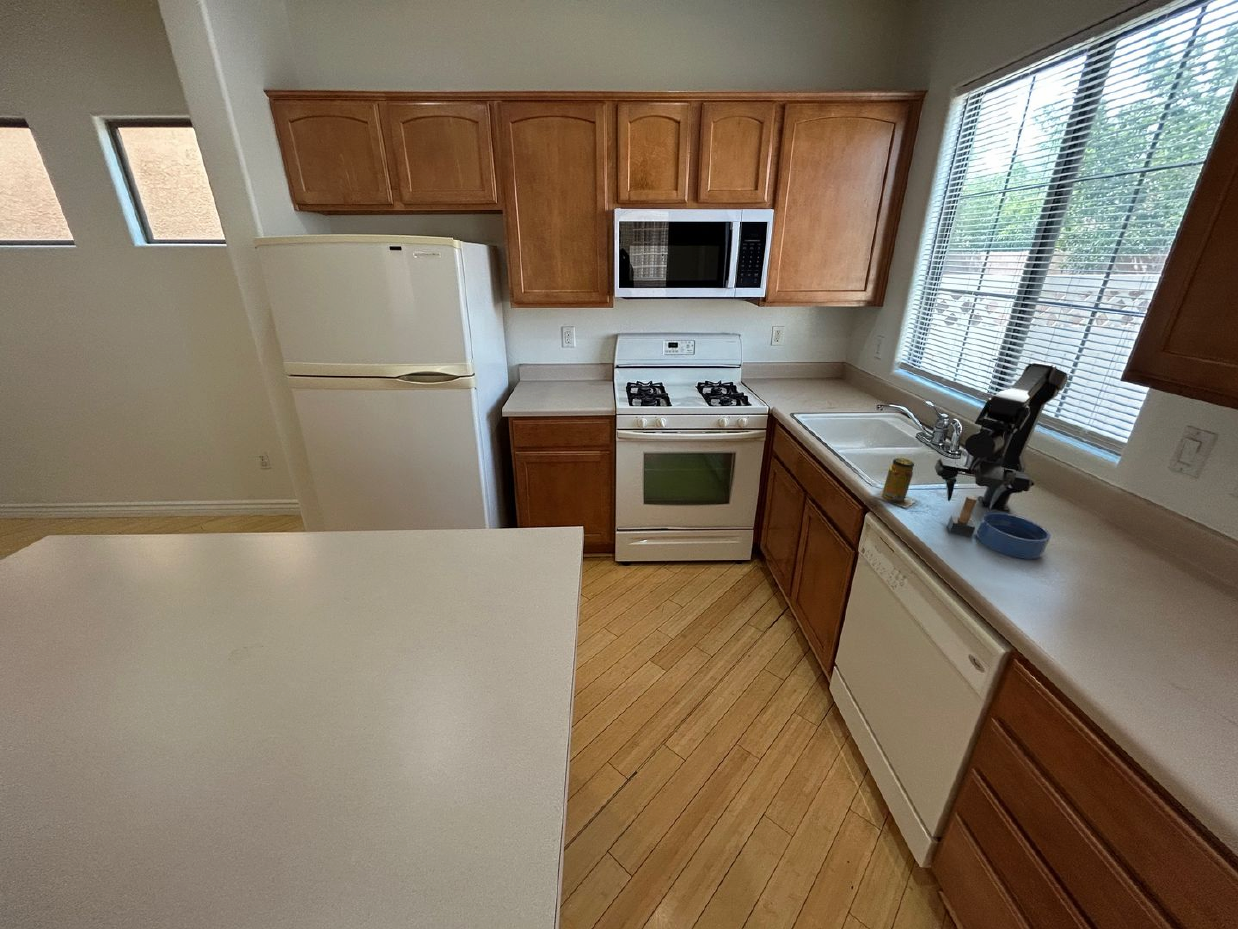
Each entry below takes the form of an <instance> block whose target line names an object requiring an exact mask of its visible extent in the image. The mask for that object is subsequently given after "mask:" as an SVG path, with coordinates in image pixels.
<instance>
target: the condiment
mask: <svg viewBox="0 0 1238 929" xmlns="http://www.w3.org/2000/svg"><path fill="white" fill-rule="evenodd" d="M914 466H915V463H914V462H913V461H912V460H910V459H907V458H903V457H897V458H894V459H893V460H892V464H891V466H890V467H889V468H888V471H887V475H886V479H885V481H884V486H883V489H882V493H880V494H878V495H876V496H875V498H878V499H879V500H883V501H884V502H888V503H890V504H894V505H896V506H899V507H903V508H905V509H907V508H909V507H911V506H912V505H913V504H915V503H916V502H917V500H914V499H912V498H909V497H907V494H908V491H909V487H910V484H911V481H912V478H913V474H914V472H913V471H914Z"/></svg>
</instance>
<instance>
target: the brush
mask: <svg viewBox="0 0 1238 929" xmlns="http://www.w3.org/2000/svg"><path fill="white" fill-rule="evenodd" d="M977 502H978V497H976V496H973V495H967V496H966V497H965V500H964V503H963V505H962V509H961V510H960V513H959V516H953V515H950V517H949V519H948V522H947V525H946V526H947V529H948V532H949V533H950V534H955V535H960V536H964V537H969V538H972V537H973V534H974V533H975V530H976V524H974V521H973V519H971V516H972V515H973V514H972V513H973V512H974V508H975V506H976V503H977Z"/></svg>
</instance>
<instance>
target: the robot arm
mask: <svg viewBox="0 0 1238 929" xmlns="http://www.w3.org/2000/svg"><path fill="white" fill-rule="evenodd" d="M1068 380H1069V376H1068V373H1067V372H1065V371H1063V370H1061V369H1058V368H1057V366H1055V365H1054V364H1050V363H1044V362H1037V361H1033V362H1029V364H1027V366H1025V367H1024V370H1023V372H1022V374H1021V375H1020V377H1019V378H1018V379H1017V380H1016V381H1015V382H1014V384H1013V385H1012V386H1011V387H1010V388H1008V389H1005V390H1004V389H1003V390H1000V391H998V392H996V393H995V394H994V395H993V396H992V397H990V398H988V400H986V402H985V404H984V406H983V407H982V408H981V411H980V412H979V414H978V416H977V418H976V419H975V421H974V425H977V426H981V427H980V429H979V430H978V431H977V432H975V433H973V434H971V435H969V436H968V437H967V438H966V439H965V442H964V448H965V450H966V452H967V454H968V455H969V456H972V457H971V460H970V461H969V462H968V467H966V466H961V465H959V464H958V463H957V461H956V460H950V459H946V458H945V459H944V458H939V459H938V460H936V462H935V464H934V465H935V466H934V470H935V472H936V475H937V476H939V477H940V478H941V479H942V480H944V481H945V486H946V487H945V488H946V499H947V502H950V501H951V499H952V497H953V493H954V488H955V484H956V483H957V479H956V478H957V477H958V475H961V476H968V477H974V479H975V485H977V486H978V487H981V488H982V487H983V488H984V487H986V489H985V492H984V495H983V496H981V495H978V497H977V499H978V501H979V502H980V504H981V506H982V507H983V508H988V509H990V510H997V511H998V510H999V511H1003V512H1011V509H1010V507H1009V505H1008V503H1009V501H1010V498H1011V496H1012V494H1020V493H1023V492H1029V491H1030V489H1031V487H1032V481H1031V479H1030V478H1029V477H1028V475H1027V474H1026V473H1025V470H1026V468H1027V464H1026V461H1025V458H1024V454H1025V452H1026V450H1027V447H1028V445H1029V442H1030V441H1031V438H1032V435H1033V433H1034V431H1035V429H1036V427H1037V425H1038V423H1039V421H1040V417H1041V416H1042V412H1043V411H1044V408H1045V406H1046V404H1049V402H1050V401H1052V400H1053V399H1056V397H1057V396H1059V393H1060V392H1061V391H1064V389H1065V387H1066V385H1067V383H1068Z"/></svg>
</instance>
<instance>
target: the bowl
mask: <svg viewBox="0 0 1238 929" xmlns="http://www.w3.org/2000/svg"><path fill="white" fill-rule="evenodd" d="M975 534H976V538H977V539H978V540H979V541H980V542H981V543H982V544H984V545H986V546H987V547H989V548H990V549H992V550H994V551H996V552H999V553H1002V554H1005V555H1006V556H1010V557H1015V558H1020V559H1029V560H1030V559H1038V558H1040V557H1042V556H1043V554H1044V552H1045V549H1046V547H1047V545H1048V544H1049V541H1050V540H1051V533H1050V532H1049V530H1047V529H1046V528H1044V527H1043V526H1042V525H1040V524H1038V523H1037V522H1034V521H1033V520H1030V519H1027V518H1025V517H1021V516H1018V515H1015V514H1010V513H1005V512H988V513H985V514H983V516H982V518H981V521H980V524H979V526H978V528H977V531H976V533H975Z"/></svg>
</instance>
